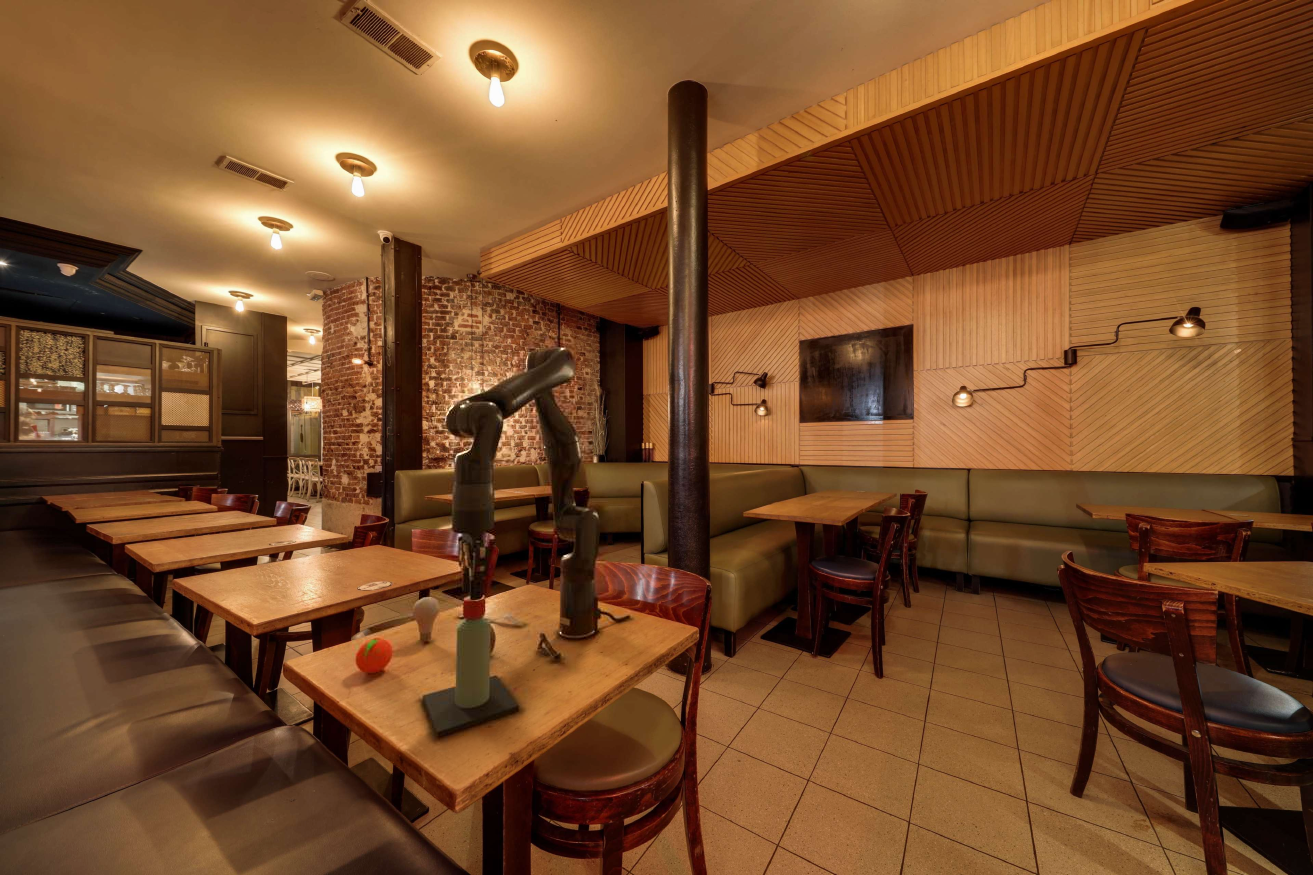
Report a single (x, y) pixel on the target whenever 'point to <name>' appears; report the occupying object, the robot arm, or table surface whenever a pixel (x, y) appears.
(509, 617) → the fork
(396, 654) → the table surface
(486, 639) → the bottle
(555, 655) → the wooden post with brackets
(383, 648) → the clementine
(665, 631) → the table surface
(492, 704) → the coaster
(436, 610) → the lightbulb
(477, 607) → the cap
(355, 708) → the table surface
